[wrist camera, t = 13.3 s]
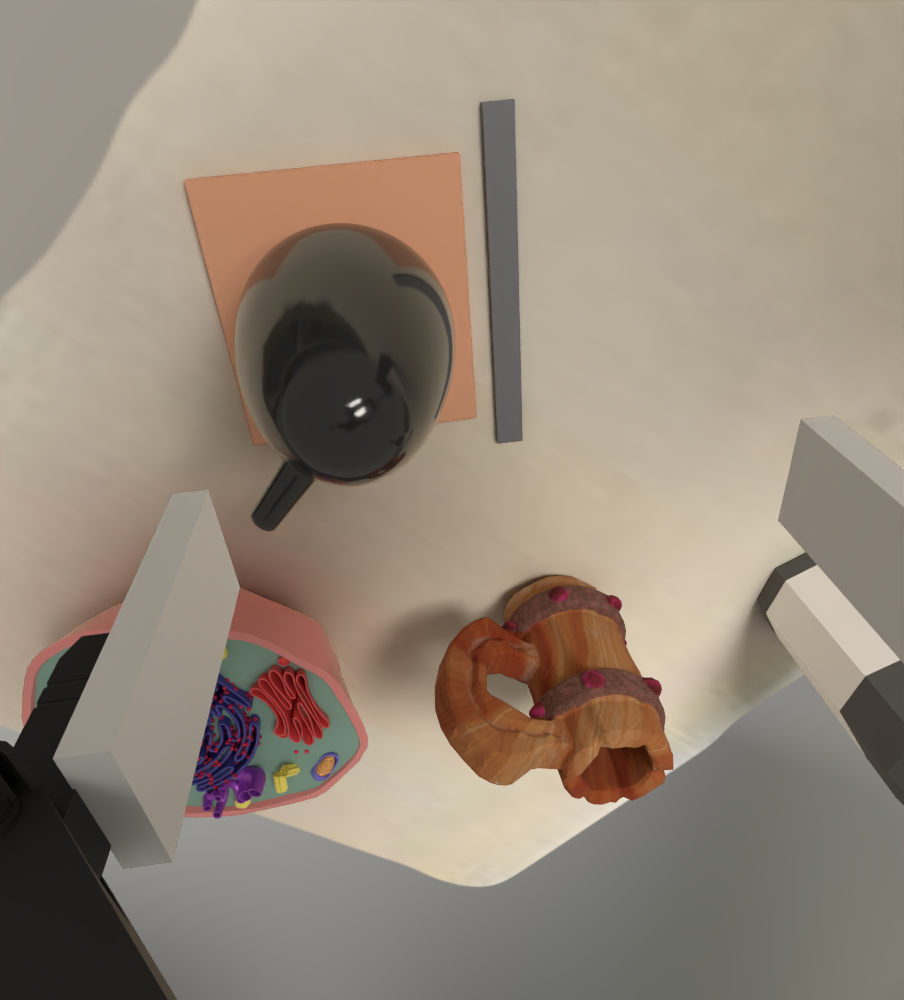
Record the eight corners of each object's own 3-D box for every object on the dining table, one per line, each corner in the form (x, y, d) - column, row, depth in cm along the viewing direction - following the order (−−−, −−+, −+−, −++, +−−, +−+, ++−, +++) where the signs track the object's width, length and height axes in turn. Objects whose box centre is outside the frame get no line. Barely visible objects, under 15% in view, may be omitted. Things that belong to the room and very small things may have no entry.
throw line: (512, 99, 32) (514, 99, 32) (521, 437, 42) (522, 440, 42) (481, 102, 32) (482, 102, 32) (496, 440, 42) (498, 443, 42)
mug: (635, 574, 49) (732, 749, 37) (587, 655, 53) (660, 839, 40) (443, 532, 45) (478, 712, 33) (407, 622, 49) (425, 815, 36)
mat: (457, 152, 33) (459, 153, 33) (474, 413, 41) (476, 417, 40) (186, 179, 32) (183, 181, 32) (255, 440, 40) (253, 445, 40)
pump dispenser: (206, 324, 36) (123, 470, 23) (329, 160, 32) (313, 222, 19) (360, 436, 40) (363, 609, 27) (483, 301, 37) (552, 428, 24)
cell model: (311, 744, 55) (302, 886, 45) (42, 678, 48) (-35, 830, 38) (407, 593, 48) (420, 724, 38) (106, 490, 41) (31, 620, 31)
